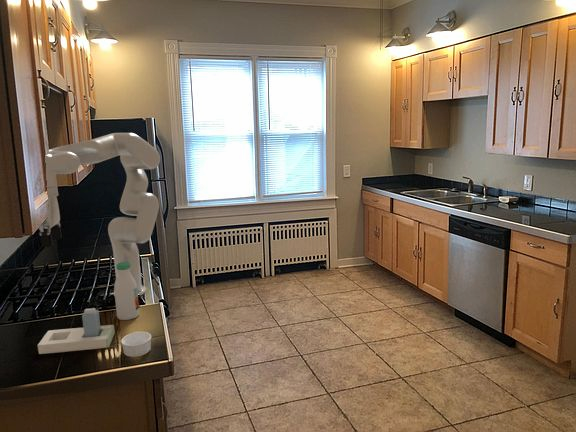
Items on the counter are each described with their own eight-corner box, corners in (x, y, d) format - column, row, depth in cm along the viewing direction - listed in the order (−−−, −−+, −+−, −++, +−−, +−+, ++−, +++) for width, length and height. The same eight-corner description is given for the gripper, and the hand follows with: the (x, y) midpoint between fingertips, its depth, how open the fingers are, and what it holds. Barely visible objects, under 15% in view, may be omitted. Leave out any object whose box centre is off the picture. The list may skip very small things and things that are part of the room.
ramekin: (156, 352, 145) (155, 339, 144) (127, 361, 140) (126, 348, 139) (146, 341, 152) (145, 328, 151) (118, 349, 147) (117, 337, 146)
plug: (89, 339, 154) (84, 307, 152) (101, 338, 155) (97, 306, 152) (85, 345, 151) (81, 312, 148) (98, 344, 151) (94, 311, 149)
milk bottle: (132, 321, 167) (127, 267, 162) (113, 320, 168) (106, 266, 164) (143, 312, 174) (138, 260, 170) (124, 311, 176) (118, 259, 171)
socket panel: (49, 338, 155) (48, 330, 155) (114, 332, 158) (113, 324, 158) (38, 354, 146) (37, 345, 145) (108, 347, 149) (107, 338, 148)
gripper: (42, 188, 161) (48, 236, 165) (22, 197, 145) (30, 250, 149) (65, 187, 163) (71, 235, 166) (48, 196, 146) (56, 249, 150)
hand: (52, 242), depth 157 cm, fingers open, 9 cm apart
